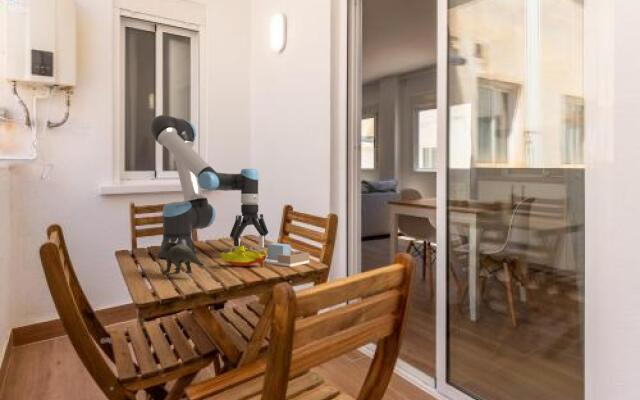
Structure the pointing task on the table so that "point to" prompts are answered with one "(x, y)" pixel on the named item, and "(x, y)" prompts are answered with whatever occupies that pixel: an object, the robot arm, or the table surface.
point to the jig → (282, 257)
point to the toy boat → (244, 256)
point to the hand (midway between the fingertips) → (249, 251)
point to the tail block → (277, 250)
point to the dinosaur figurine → (179, 256)
